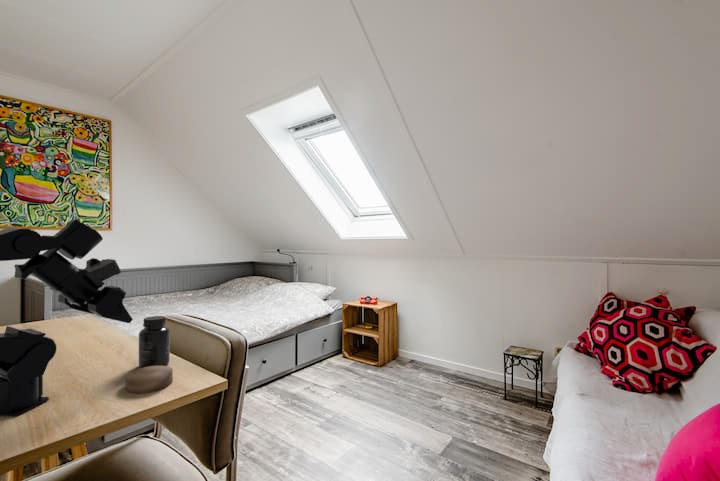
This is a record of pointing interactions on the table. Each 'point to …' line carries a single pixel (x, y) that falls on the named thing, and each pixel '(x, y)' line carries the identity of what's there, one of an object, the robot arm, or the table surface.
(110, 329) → the table surface
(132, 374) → the walnut stand
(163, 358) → the supplement bottle
